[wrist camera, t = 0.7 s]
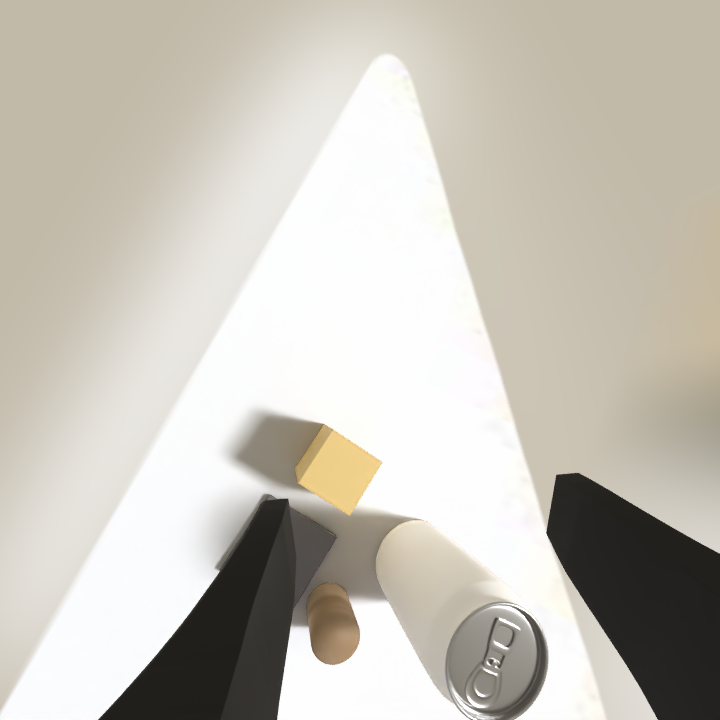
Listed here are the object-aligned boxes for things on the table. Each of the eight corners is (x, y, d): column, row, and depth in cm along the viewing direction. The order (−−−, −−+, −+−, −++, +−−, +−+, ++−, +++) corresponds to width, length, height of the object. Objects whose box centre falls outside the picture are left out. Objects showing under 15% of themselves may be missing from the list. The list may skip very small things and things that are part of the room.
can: (359, 583, 29) (414, 709, 18) (396, 504, 30) (470, 572, 19) (430, 615, 30) (527, 754, 19) (463, 537, 31) (574, 621, 20)
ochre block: (337, 495, 30) (349, 515, 25) (294, 468, 29) (298, 483, 24) (365, 451, 30) (382, 462, 26) (323, 423, 30) (333, 429, 25)
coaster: (290, 609, 28) (290, 612, 28) (220, 568, 27) (219, 571, 27) (335, 535, 29) (336, 537, 29) (269, 494, 28) (269, 495, 28)
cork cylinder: (333, 635, 29) (342, 673, 25) (297, 614, 28) (301, 650, 24) (356, 595, 29) (369, 626, 25) (322, 574, 29) (329, 603, 25)
